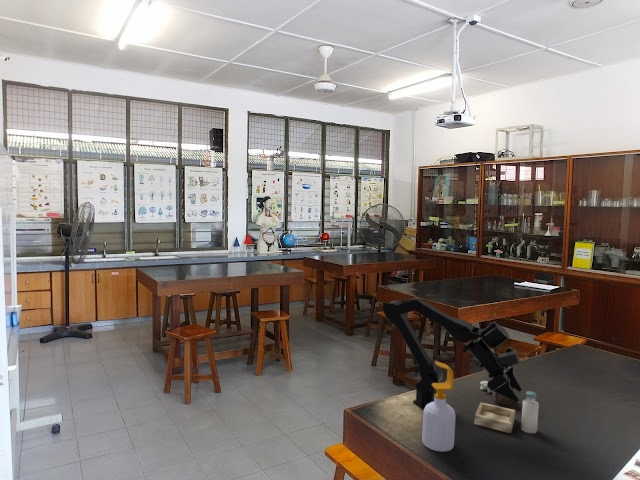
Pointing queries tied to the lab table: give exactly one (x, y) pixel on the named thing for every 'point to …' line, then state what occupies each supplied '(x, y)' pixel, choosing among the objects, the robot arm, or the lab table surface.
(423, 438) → the soap bottle
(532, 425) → the reagent bottle
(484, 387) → the vertebra
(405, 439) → the lab table surface
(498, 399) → the box
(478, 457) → the lab table surface
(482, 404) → the oak tray
